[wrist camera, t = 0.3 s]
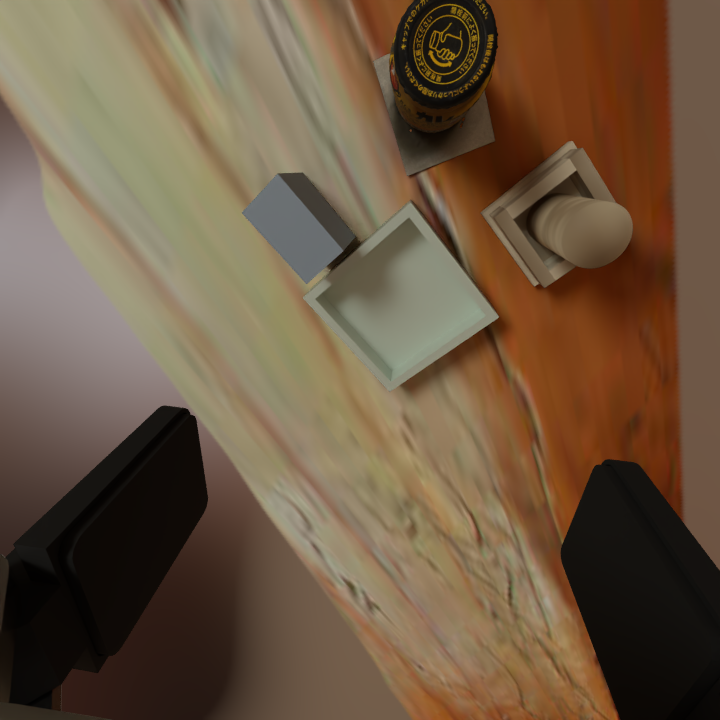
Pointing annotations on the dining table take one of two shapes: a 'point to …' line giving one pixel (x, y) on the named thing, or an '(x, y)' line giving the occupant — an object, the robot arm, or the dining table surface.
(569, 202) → the dowel
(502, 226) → the socket block
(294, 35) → the dining table surface
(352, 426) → the dining table surface
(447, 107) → the condiment
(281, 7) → the dining table surface
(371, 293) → the tray
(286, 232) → the block
